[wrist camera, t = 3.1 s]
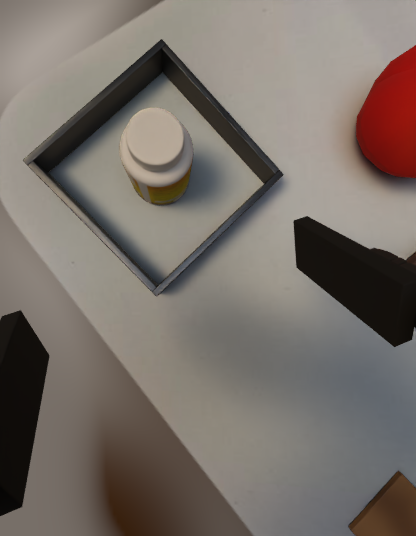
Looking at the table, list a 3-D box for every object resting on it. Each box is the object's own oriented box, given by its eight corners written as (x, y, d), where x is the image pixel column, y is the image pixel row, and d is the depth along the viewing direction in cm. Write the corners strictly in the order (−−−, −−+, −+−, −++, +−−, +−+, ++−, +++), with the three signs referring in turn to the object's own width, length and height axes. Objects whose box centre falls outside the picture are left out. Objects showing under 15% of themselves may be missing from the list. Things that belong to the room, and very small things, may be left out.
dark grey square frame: (158, 293, 32) (156, 296, 28) (39, 172, 30) (22, 160, 27) (272, 184, 33) (284, 174, 30) (162, 63, 32) (161, 38, 28)
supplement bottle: (198, 170, 32) (211, 125, 22) (170, 217, 32) (169, 192, 22) (150, 139, 32) (141, 78, 21) (121, 186, 31) (96, 147, 21)
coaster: (396, 574, 35) (400, 580, 34) (348, 526, 34) (351, 531, 33) (444, 518, 35) (449, 523, 35) (398, 470, 35) (402, 474, 34)
